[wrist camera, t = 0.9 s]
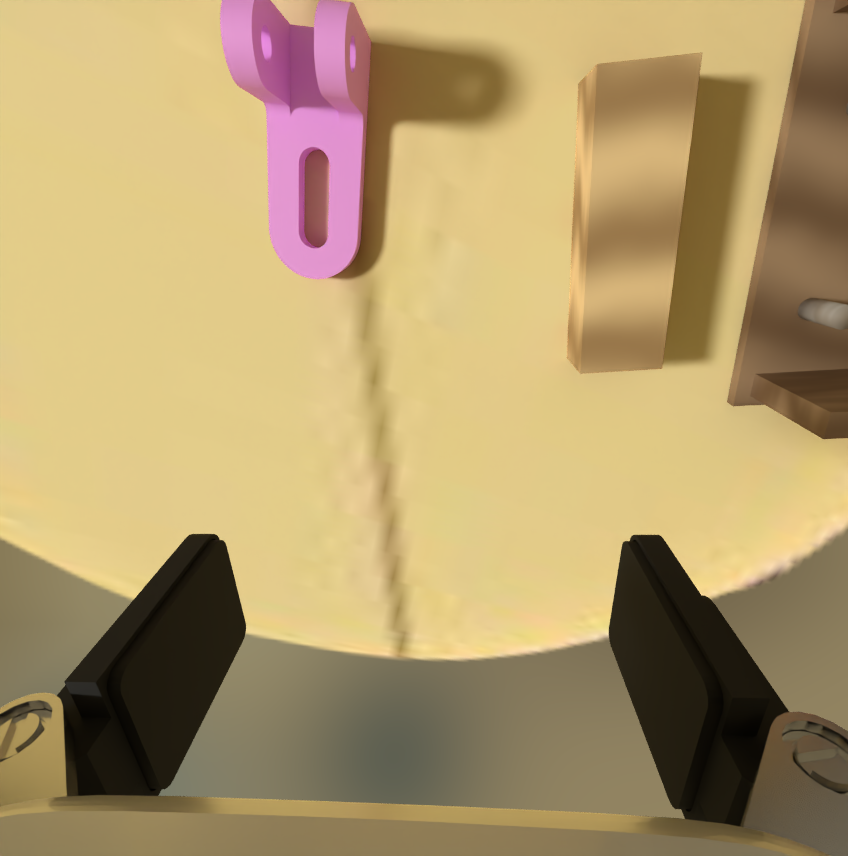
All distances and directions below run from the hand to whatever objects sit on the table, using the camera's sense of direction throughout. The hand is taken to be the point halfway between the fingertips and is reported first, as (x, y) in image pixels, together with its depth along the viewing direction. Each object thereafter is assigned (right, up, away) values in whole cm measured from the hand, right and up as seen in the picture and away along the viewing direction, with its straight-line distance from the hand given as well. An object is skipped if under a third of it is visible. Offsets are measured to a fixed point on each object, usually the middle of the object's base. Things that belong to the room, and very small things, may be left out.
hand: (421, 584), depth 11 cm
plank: (+12, +16, +19) cm, 28 cm away
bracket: (-6, +20, +18) cm, 28 cm away
